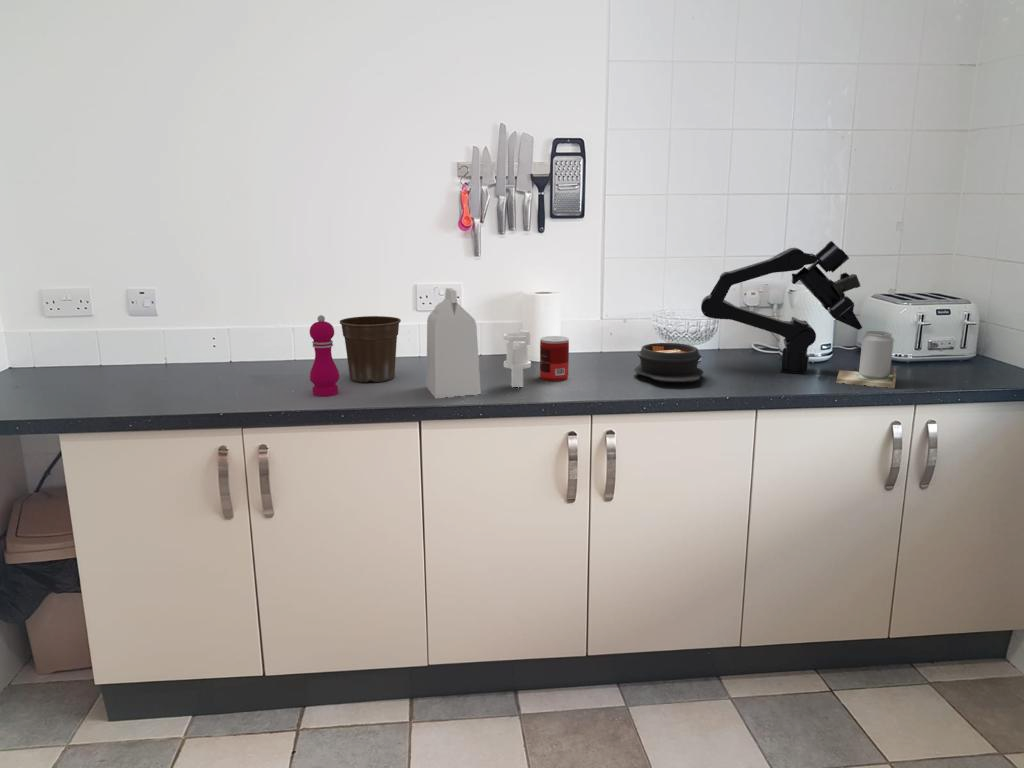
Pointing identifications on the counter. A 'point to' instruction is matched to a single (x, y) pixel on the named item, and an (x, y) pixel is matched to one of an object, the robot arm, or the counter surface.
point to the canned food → (554, 358)
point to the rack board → (865, 379)
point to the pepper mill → (323, 359)
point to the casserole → (669, 362)
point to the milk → (452, 350)
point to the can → (876, 355)
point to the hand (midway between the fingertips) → (857, 325)
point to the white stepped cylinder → (517, 355)
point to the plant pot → (371, 347)
